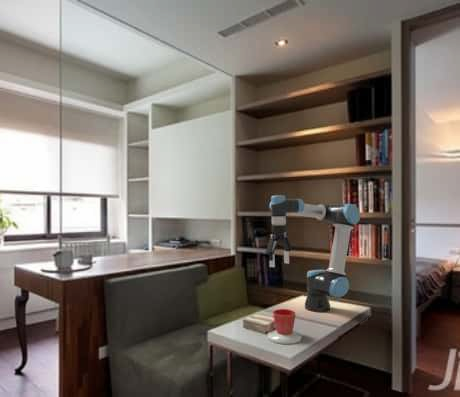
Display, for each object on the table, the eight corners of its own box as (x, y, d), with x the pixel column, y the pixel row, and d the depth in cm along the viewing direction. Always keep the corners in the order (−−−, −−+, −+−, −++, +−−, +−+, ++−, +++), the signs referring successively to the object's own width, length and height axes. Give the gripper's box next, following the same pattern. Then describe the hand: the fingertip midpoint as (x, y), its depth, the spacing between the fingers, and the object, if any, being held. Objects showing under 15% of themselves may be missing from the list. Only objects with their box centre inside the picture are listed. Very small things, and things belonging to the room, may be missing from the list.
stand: (259, 320, 188) (259, 313, 188) (280, 326, 178) (280, 318, 178) (243, 327, 177) (243, 319, 177) (265, 333, 168) (264, 325, 168)
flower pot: (278, 326, 175) (278, 307, 175) (299, 330, 169) (298, 310, 169) (269, 333, 166) (269, 313, 166) (290, 337, 160) (290, 316, 160)
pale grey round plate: (279, 329, 174) (279, 327, 174) (307, 336, 163) (307, 334, 163) (260, 338, 162) (260, 336, 162) (289, 347, 151) (289, 344, 151)
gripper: (285, 223, 191) (286, 261, 191) (258, 225, 173) (259, 267, 172) (297, 223, 186) (298, 262, 186) (270, 226, 168) (271, 269, 167)
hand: (279, 265), depth 179 cm, fingers open, 13 cm apart
